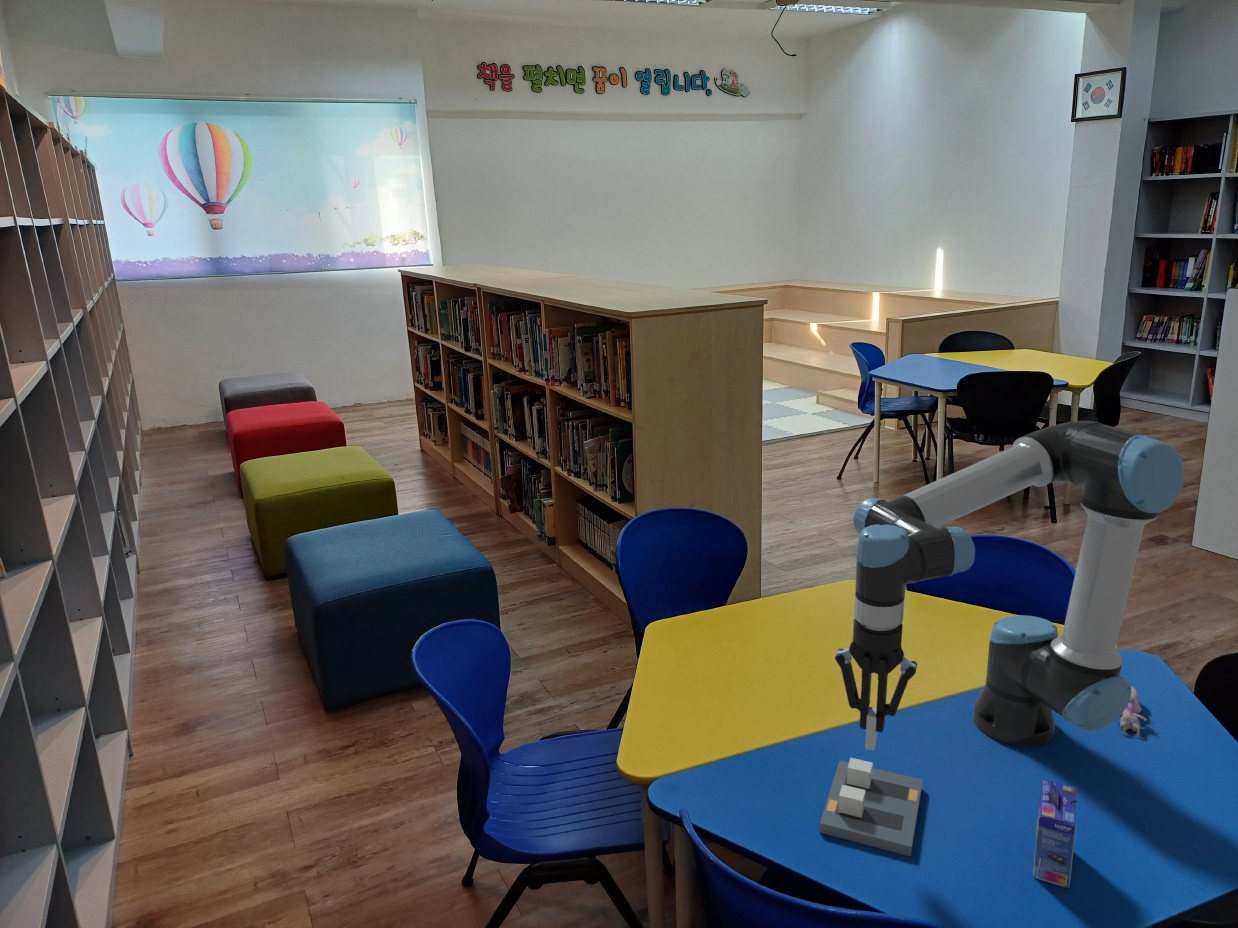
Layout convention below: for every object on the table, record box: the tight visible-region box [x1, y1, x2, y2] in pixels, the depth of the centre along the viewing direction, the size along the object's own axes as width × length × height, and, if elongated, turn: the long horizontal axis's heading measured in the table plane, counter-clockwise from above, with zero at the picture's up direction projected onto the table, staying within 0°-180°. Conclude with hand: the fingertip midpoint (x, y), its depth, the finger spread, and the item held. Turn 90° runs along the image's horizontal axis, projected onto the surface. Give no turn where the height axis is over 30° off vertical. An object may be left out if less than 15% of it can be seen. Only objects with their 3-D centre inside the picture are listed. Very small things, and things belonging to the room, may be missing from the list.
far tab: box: [847, 757, 874, 789], centre depth 156 cm, size 4×3×4 cm
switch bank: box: [819, 760, 924, 857], centre depth 152 cm, size 15×18×2 cm
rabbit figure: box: [1119, 685, 1148, 737], centre depth 175 cm, size 6×6×15 cm
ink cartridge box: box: [1032, 778, 1078, 889], centre depth 137 cm, size 10×6×14 cm, turn 153°
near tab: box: [838, 785, 866, 818], centre depth 149 cm, size 4×3×4 cm
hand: (870, 744), depth 144 cm, fingers closed
